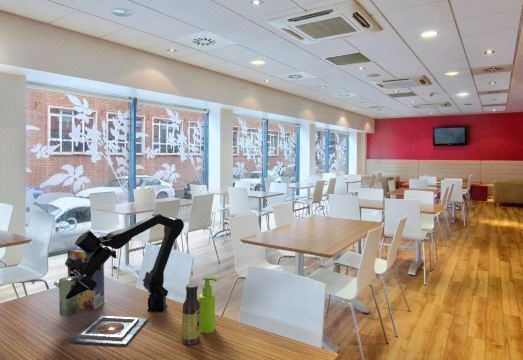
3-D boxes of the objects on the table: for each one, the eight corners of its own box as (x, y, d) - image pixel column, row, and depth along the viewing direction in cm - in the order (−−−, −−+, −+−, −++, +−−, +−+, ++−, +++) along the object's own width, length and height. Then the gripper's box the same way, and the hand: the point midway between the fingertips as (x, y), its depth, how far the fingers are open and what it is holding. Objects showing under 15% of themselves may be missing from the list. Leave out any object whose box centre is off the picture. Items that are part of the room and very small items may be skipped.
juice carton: (104, 302, 162) (104, 248, 161) (93, 309, 155) (93, 252, 153) (79, 300, 165) (79, 246, 163) (68, 307, 157) (67, 250, 156)
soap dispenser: (214, 334, 136) (215, 280, 135) (196, 332, 138) (196, 279, 136) (219, 327, 142) (220, 275, 141) (202, 325, 144) (202, 274, 142)
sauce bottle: (200, 344, 129) (201, 288, 128) (182, 346, 128) (182, 289, 126) (199, 335, 135) (200, 281, 134) (181, 337, 134) (182, 282, 132)
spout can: (75, 307, 140) (75, 275, 139) (79, 313, 136) (79, 279, 135) (52, 313, 135) (51, 279, 134) (55, 319, 131) (55, 284, 130)
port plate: (147, 320, 147) (147, 315, 147) (125, 346, 127) (125, 341, 127) (98, 317, 148) (98, 313, 148) (69, 342, 128) (68, 337, 128)
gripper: (73, 242, 144) (41, 276, 138) (86, 253, 130) (51, 291, 123) (95, 259, 150) (65, 292, 143) (110, 271, 135) (77, 309, 129)
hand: (64, 295), depth 135 cm, fingers closed on spout can, 6 cm apart
